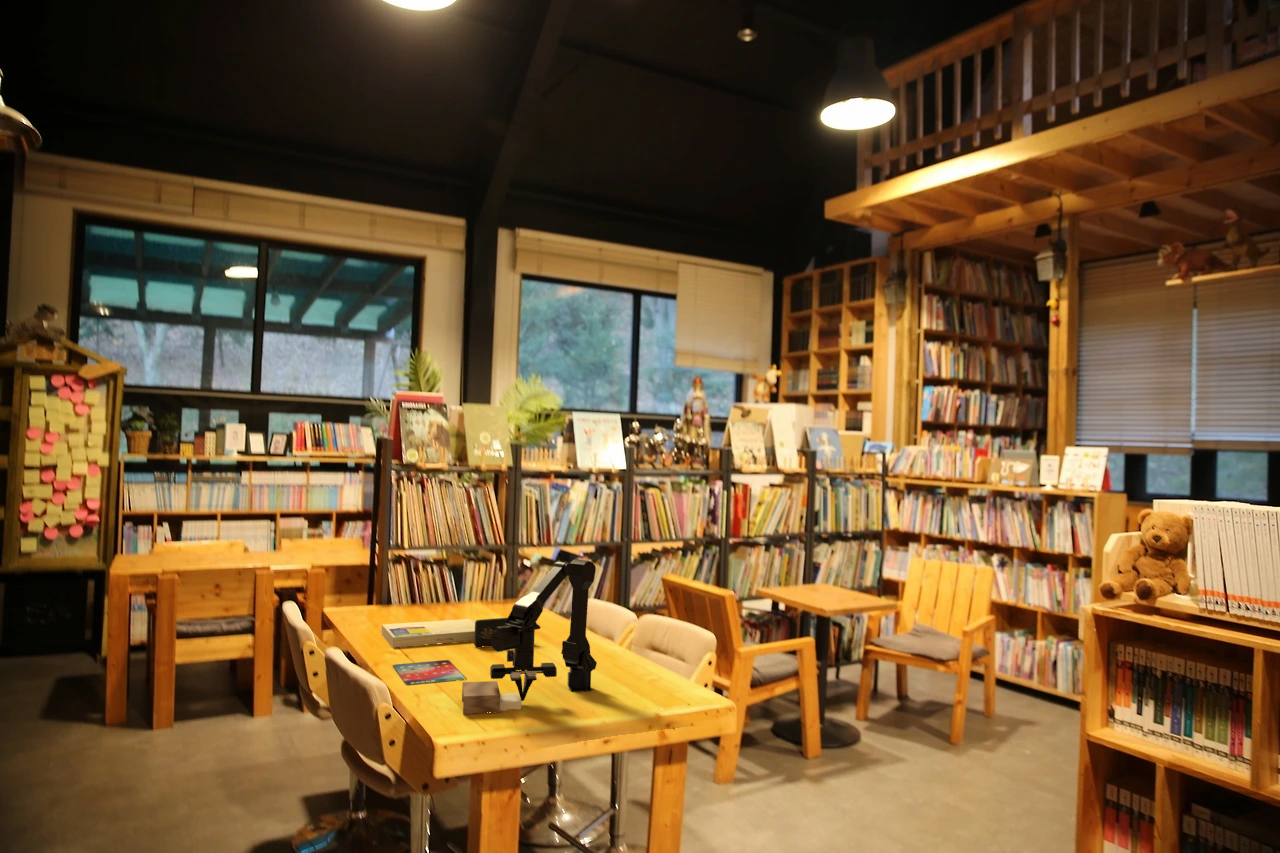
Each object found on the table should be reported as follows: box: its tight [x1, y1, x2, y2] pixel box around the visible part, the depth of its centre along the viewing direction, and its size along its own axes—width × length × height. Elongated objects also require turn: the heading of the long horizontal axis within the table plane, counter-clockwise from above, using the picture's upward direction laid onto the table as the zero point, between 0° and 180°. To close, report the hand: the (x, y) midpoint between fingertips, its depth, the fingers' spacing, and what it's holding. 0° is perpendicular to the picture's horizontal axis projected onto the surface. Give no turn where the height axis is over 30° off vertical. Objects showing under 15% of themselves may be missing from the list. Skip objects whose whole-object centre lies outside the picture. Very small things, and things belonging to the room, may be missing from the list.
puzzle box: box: [380, 618, 476, 649], centre depth 318 cm, size 36×5×24 cm
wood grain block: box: [461, 680, 501, 715], centre depth 235 cm, size 10×14×5 cm
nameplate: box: [473, 617, 523, 648], centre depth 310 cm, size 21×2×10 cm, turn 119°
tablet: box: [392, 659, 467, 686], centre depth 269 cm, size 19×25×1 cm
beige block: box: [500, 692, 522, 711], centre depth 236 cm, size 10×8×3 cm
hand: (522, 700), depth 238 cm, fingers closed
